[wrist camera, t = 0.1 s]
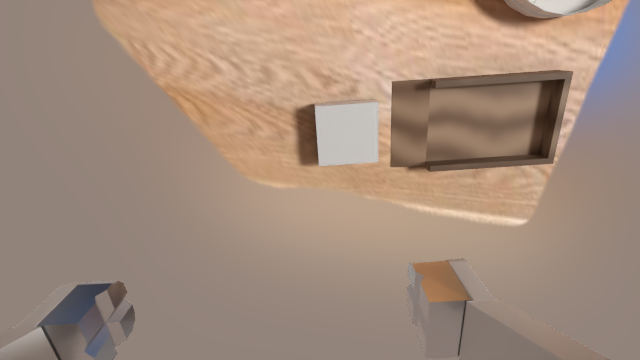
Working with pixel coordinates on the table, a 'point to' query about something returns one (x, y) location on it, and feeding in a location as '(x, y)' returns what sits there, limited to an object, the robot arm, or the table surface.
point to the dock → (478, 120)
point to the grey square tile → (347, 132)
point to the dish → (553, 7)
